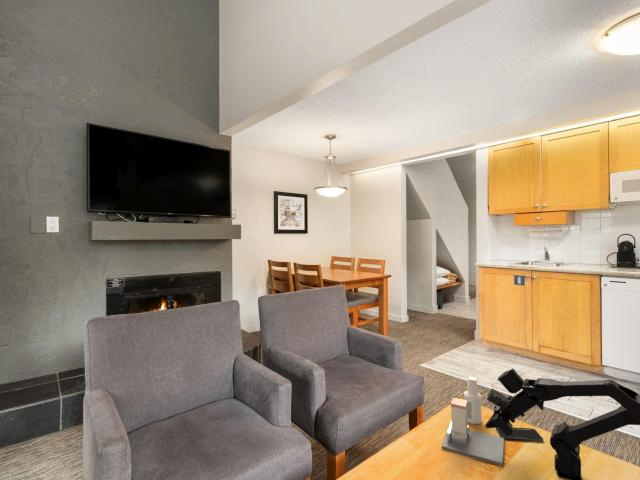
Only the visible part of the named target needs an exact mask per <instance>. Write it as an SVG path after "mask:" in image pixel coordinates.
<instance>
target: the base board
mask: <svg viewBox="0 0 640 480" xmlns="http://www.w3.org/2000/svg"><path fill="white" fill-rule="evenodd" d="M449 426H450V424H448V427H447V429H446V433H445V436H444V438H443V441H442V444H441V449H442V450H444V451H448V452H453V453H455V454H458V455H463V456H466V457H469V458H473V459H477V460H480V461H483V462H486V463H490V464H494V465H498V466H500V467H503V466H504V448H505V440H504V438H501V437H500V436H496V435H492V434H488V433H485V432H480V431H477V430H476V431H475V430H473V429H469V436H467V445H466V447H465V446H461V445H457V444H454V443H452V438H451V441H450V442H447V432H448V429H449Z"/></svg>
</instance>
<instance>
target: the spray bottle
mask: <svg viewBox="0 0 640 480" xmlns="http://www.w3.org/2000/svg"><path fill="white" fill-rule="evenodd" d="M477 381H478V379H477V377H474V376H468V377H467V390H465V391H464V392H463V400H467V424H468V423H469V424H473V425H479V424H481V423H482V395H481V394H480V393H479V392H478V382H477Z"/></svg>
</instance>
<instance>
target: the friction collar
mask: <svg viewBox="0 0 640 480" xmlns="http://www.w3.org/2000/svg"><path fill="white" fill-rule="evenodd" d="M449 425H450V426H449ZM449 425H448V426H449V429H448V428H447V429H448V432H447V431H446V432H447V442H450V441H451V438H452V443H454V444H457V445H461V446H465V447H466V445H467V436H469V430H470V427H469V425H467V435H463V434H459V433H455V432H452V430H451V422H450V424H449Z"/></svg>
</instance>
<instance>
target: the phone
mask: <svg viewBox="0 0 640 480" xmlns="http://www.w3.org/2000/svg"><path fill="white" fill-rule="evenodd" d="M495 430H496V432H497V433H498V435H499V437H501V438H504V441H514V442H515V441H516V442H531V441H535V442H536V443H543V442H544V437H542V435H540V433H539V432H538V431H537V430H536V429H535V428H531V427H513V434H511V435H510V436H506V434H505V433H504V432H503V431H502V430H501V429H500V428H495ZM535 442H534V443H535Z"/></svg>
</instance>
